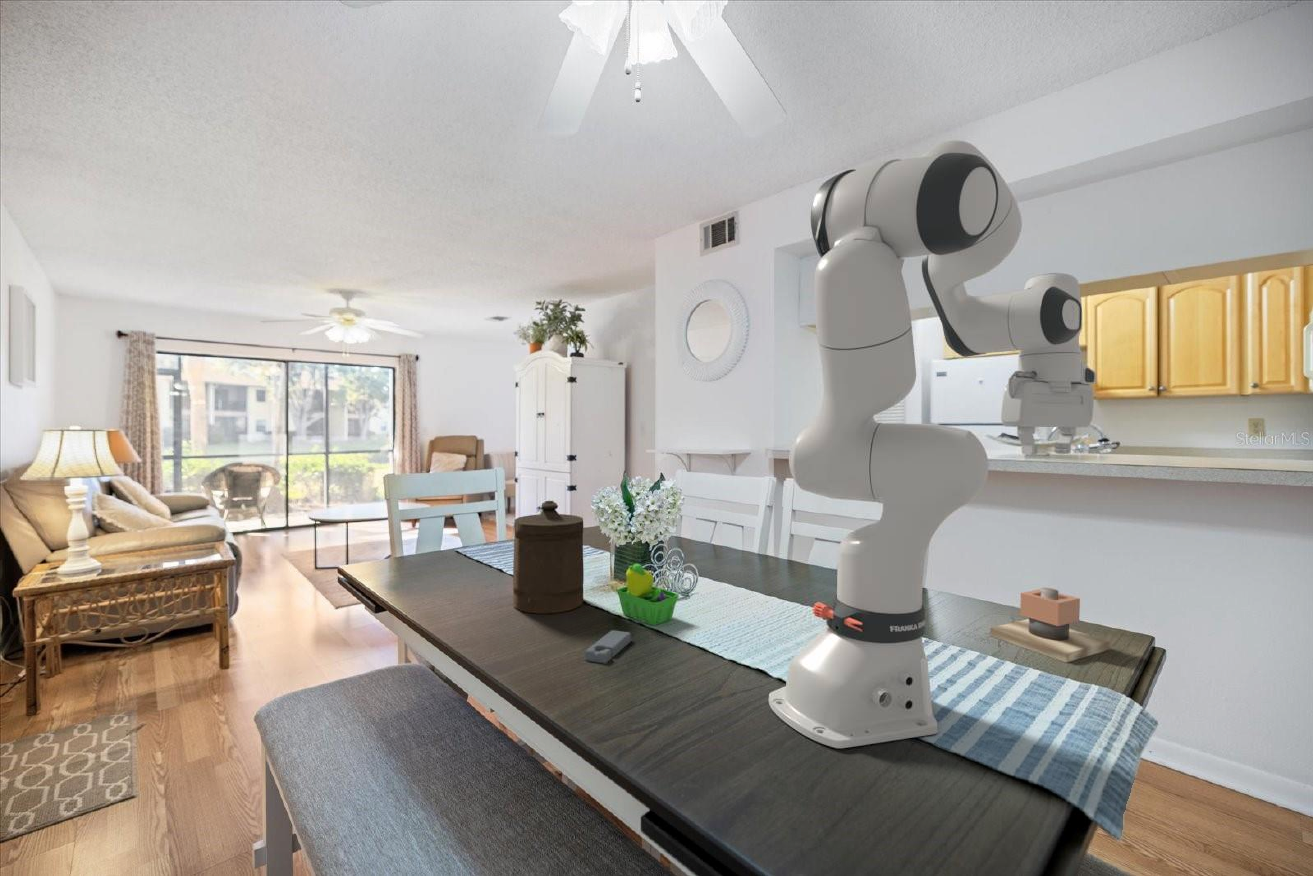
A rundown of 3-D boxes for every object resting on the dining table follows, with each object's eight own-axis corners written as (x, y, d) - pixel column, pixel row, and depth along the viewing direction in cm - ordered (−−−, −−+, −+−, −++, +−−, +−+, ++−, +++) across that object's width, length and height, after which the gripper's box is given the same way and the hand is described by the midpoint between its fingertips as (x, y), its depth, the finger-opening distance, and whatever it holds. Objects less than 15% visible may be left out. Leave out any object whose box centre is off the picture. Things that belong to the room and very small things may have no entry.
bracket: (631, 643, 102) (631, 632, 101) (605, 666, 92) (605, 654, 92) (611, 640, 103) (611, 629, 103) (584, 662, 93) (584, 650, 93)
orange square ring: (1057, 626, 98) (1058, 603, 98) (1020, 614, 104) (1020, 593, 104) (1079, 620, 101) (1079, 598, 101) (1041, 610, 106) (1042, 588, 106)
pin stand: (1066, 662, 94) (1067, 605, 93) (990, 635, 105) (991, 584, 105) (1109, 649, 99) (1111, 595, 99) (1033, 625, 111) (1034, 577, 111)
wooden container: (575, 590, 132) (575, 495, 131) (590, 610, 118) (591, 504, 118) (509, 596, 127) (509, 498, 126) (517, 618, 113) (517, 507, 112)
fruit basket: (680, 619, 113) (681, 563, 112) (648, 630, 107) (648, 570, 106) (641, 606, 121) (642, 553, 121) (609, 615, 115) (609, 560, 114)
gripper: (1030, 368, 90) (1028, 456, 90) (1102, 374, 99) (1100, 454, 99) (991, 371, 95) (989, 454, 96) (1063, 376, 104) (1061, 452, 105)
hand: (1046, 454), depth 97 cm, fingers open, 8 cm apart
